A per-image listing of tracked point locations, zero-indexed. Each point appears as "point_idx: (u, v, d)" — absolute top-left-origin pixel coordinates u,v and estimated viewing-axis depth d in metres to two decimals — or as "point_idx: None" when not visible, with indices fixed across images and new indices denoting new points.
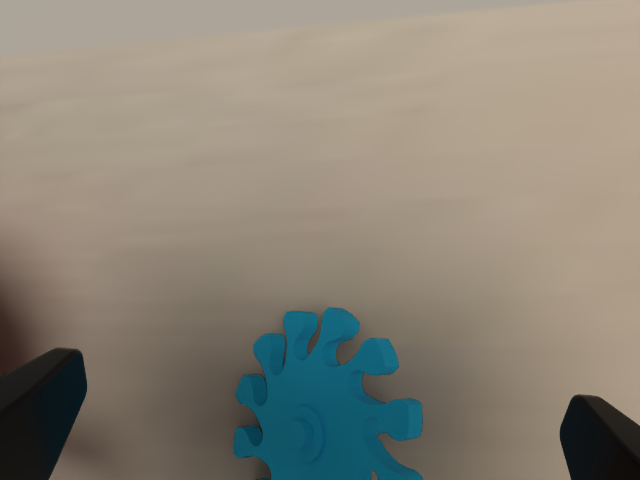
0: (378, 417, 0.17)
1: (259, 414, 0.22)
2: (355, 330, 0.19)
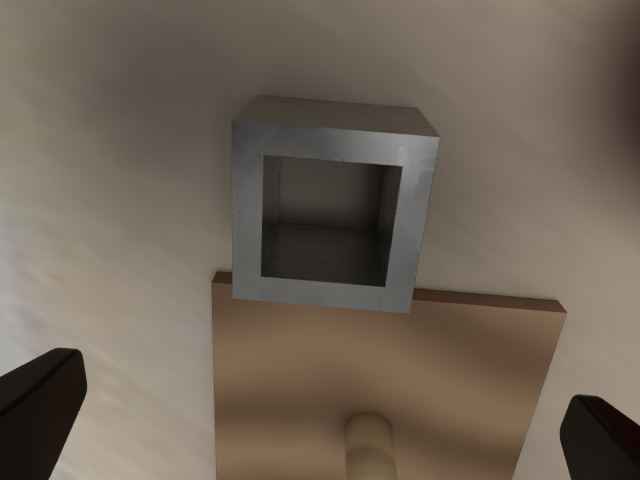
0: None
1: None
2: None
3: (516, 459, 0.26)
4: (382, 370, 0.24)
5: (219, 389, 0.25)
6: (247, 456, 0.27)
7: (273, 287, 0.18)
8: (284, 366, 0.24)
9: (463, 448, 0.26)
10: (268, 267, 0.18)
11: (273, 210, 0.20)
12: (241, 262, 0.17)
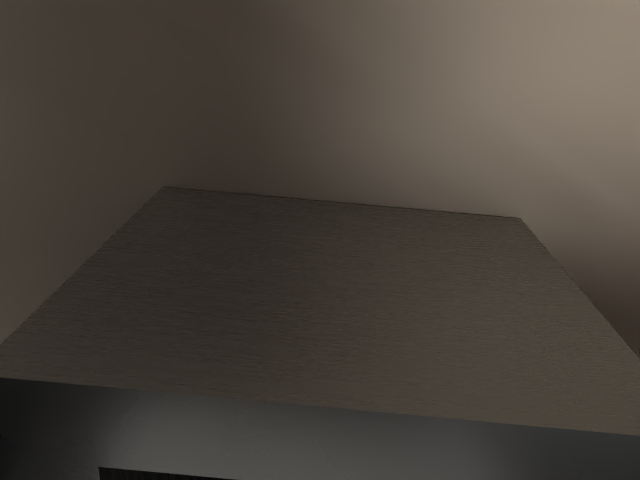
0: None
1: None
2: None
3: None
4: None
5: None
6: None
7: None
8: None
9: None
10: None
11: None
12: None
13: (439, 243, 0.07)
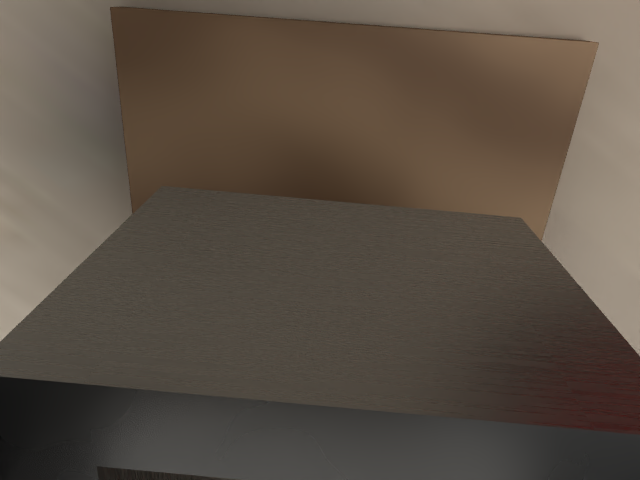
0: None
1: None
2: None
3: None
4: (350, 148, 0.18)
5: (136, 186, 0.19)
6: None
7: None
8: (219, 146, 0.18)
9: None
10: None
11: None
12: None
13: (439, 242, 0.07)
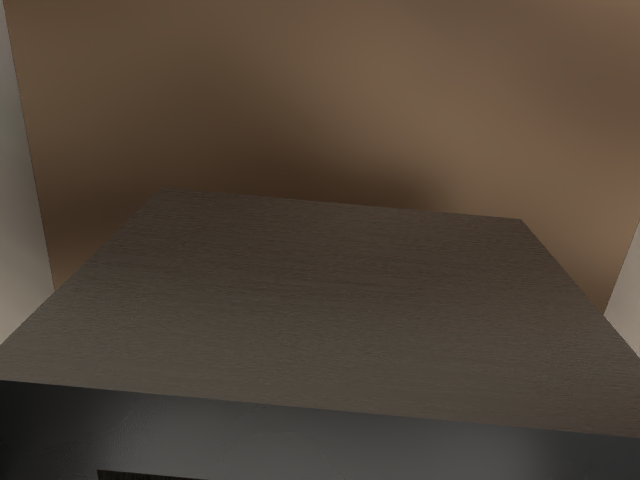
0: None
1: None
2: None
3: None
4: (352, 117, 0.12)
5: (42, 170, 0.13)
6: None
7: None
8: (159, 111, 0.12)
9: None
10: None
11: None
12: None
13: (440, 244, 0.07)
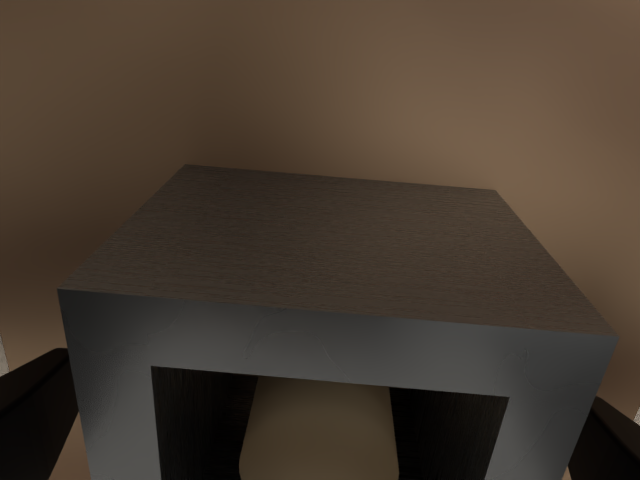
0: None
1: None
2: None
3: None
4: (356, 144, 0.10)
5: None
6: None
7: None
8: (118, 136, 0.10)
9: None
10: None
11: (214, 387, 0.10)
12: None
13: (423, 207, 0.09)
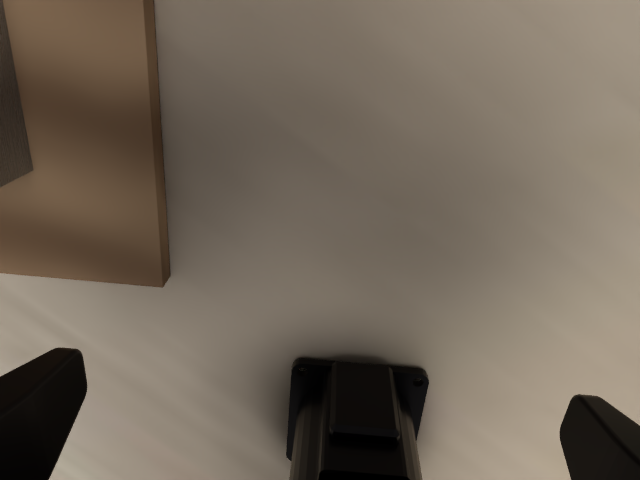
0: None
1: None
2: None
3: (149, 128, 0.18)
4: None
5: None
6: None
7: None
8: None
9: (71, 109, 0.18)
10: None
11: None
12: None
13: None
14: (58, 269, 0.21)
